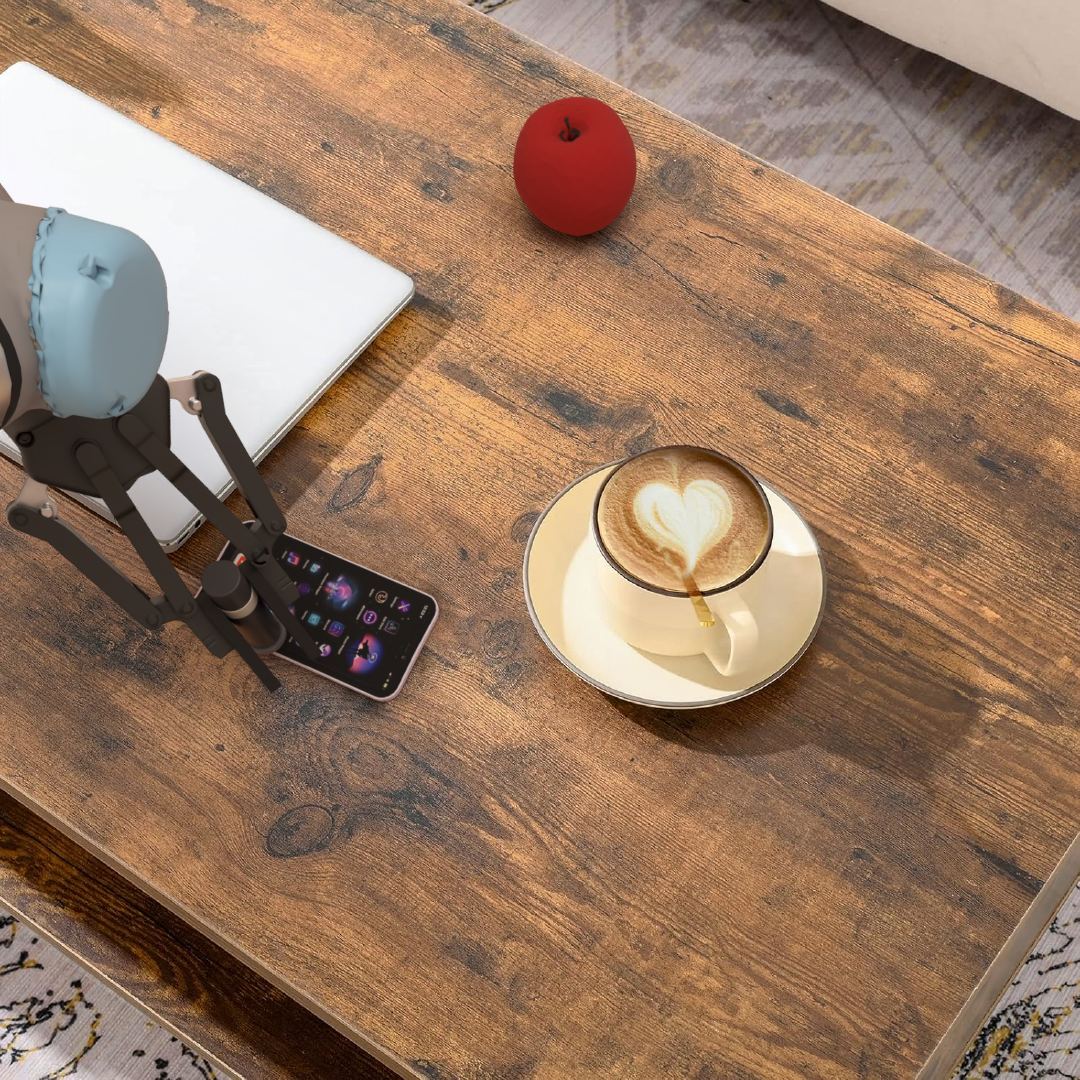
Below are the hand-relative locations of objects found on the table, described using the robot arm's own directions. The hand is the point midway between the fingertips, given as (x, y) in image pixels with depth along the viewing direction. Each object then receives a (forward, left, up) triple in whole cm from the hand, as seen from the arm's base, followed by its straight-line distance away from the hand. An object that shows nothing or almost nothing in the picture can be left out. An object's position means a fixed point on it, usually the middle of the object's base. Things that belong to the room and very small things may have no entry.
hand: (291, 665), depth 69 cm
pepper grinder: (0, +4, -3) cm, 5 cm away
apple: (+37, +17, -5) cm, 41 cm away
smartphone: (+3, +4, -5) cm, 7 cm away
